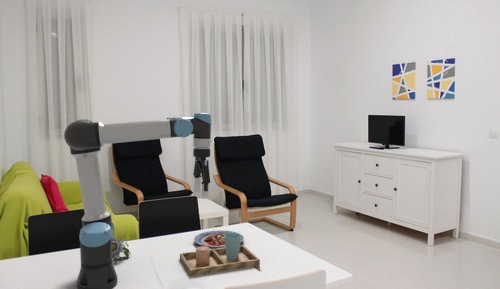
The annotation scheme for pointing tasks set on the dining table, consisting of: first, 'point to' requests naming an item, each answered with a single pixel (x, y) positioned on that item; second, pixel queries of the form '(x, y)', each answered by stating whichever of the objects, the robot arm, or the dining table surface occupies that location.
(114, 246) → the passion flower
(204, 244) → the ceramic plate
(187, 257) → the divided wooden tray
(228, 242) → the cup
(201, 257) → the tan rounded piece
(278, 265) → the dining table surface
